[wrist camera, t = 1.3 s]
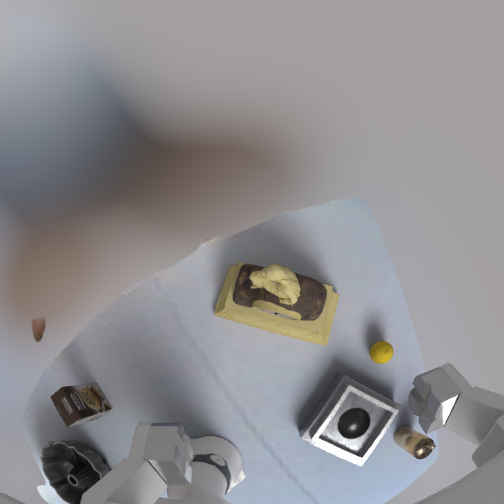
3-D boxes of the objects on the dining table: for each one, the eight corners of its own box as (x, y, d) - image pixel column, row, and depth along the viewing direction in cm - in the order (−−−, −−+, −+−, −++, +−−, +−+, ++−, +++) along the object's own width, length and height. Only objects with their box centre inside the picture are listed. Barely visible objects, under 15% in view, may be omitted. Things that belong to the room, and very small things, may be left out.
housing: (354, 457, 57) (363, 469, 49) (298, 431, 61) (301, 442, 53) (393, 401, 61) (406, 407, 53) (338, 372, 65) (347, 376, 57)
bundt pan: (106, 515, 52) (91, 527, 43) (49, 460, 58) (32, 467, 49) (140, 479, 58) (125, 492, 48) (75, 418, 64) (55, 423, 54)
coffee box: (114, 408, 65) (81, 419, 49) (100, 417, 64) (67, 428, 48) (96, 381, 67) (62, 386, 52) (83, 391, 66) (49, 396, 51)
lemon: (369, 365, 64) (380, 368, 57) (363, 345, 66) (373, 346, 59) (388, 357, 65) (400, 358, 57) (382, 338, 66) (394, 337, 59)
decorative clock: (215, 315, 71) (178, 297, 43) (230, 267, 75) (205, 220, 46) (324, 345, 67) (360, 347, 39) (337, 295, 71) (377, 265, 42)
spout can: (404, 446, 56) (430, 465, 41) (389, 440, 57) (415, 459, 42) (415, 429, 57) (444, 444, 42) (401, 423, 59) (429, 438, 43)
